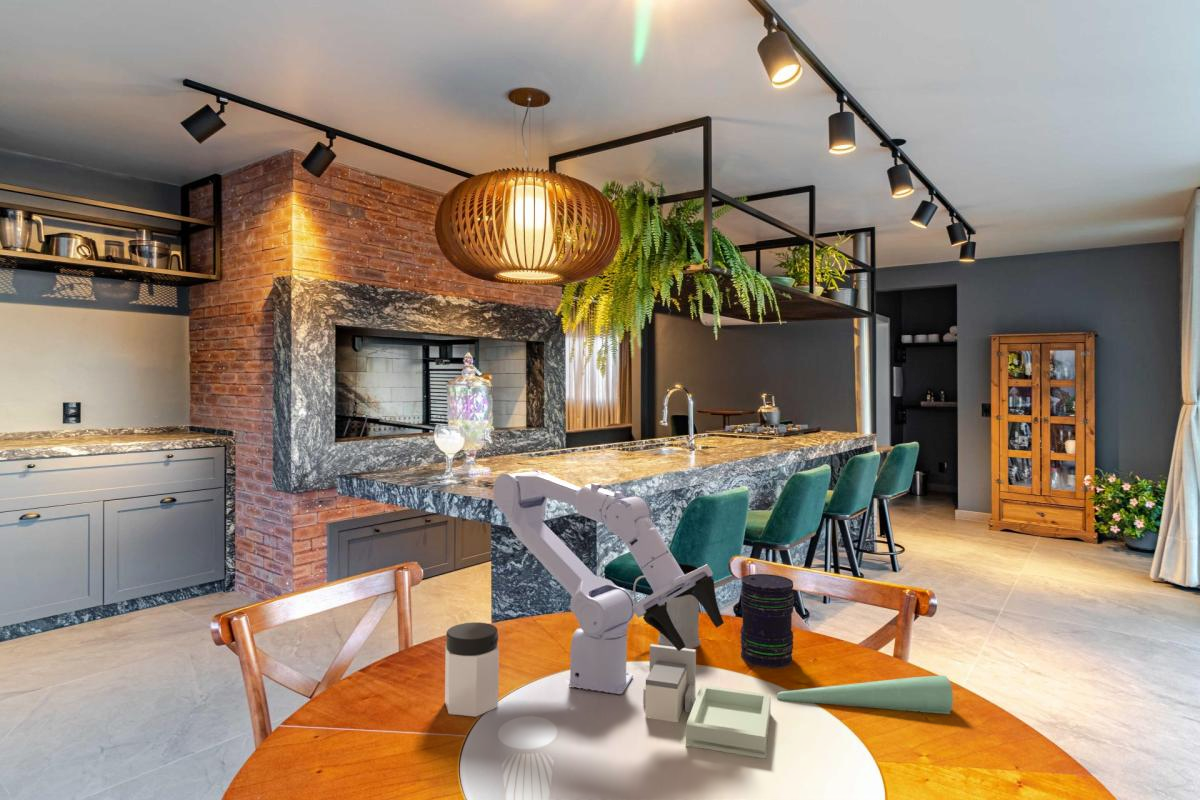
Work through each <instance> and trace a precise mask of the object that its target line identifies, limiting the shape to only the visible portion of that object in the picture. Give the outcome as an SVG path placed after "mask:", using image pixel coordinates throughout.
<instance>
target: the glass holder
mask: <svg viewBox="0 0 1200 800" xmlns="http://www.w3.org/2000/svg"><path fill="white" fill-rule="evenodd" d="M678 565H679V567H680V568H681V570H682V571H683V573H684V575H686V574H688V573H690V572H692V571H694V570H696V569H698V568H699V567H697V566H695V565H691V564H685V563H678ZM641 579H646V578H645V576H644V575H640V576H638V577H637V578H635V581H634V583H633V588H632V591H633V592H632V594H633V596H632V597H633V599H634V602H635V604H636V603H638V600H637V595H636V585H637V583H638V582H639V581H640V580H641ZM688 585H689V584H688ZM688 585H687V586H688ZM685 587H686V586H685ZM683 588H684V587H683ZM680 589H682V587H680V588H678V589H677V590H675V591H673V592H672V593H670V594H668V595H666V596H665V597H664V598H663V599H665V598H666V597H668V596H670V595H672V594H673V593H675V592H677V591H679V590H680ZM693 591H694V586H693V587H691V588H689V589H688V590H686V591H684V592H682V593H681V594H679V595H677V596H675V597H674V598H672V599H670V600H668V601H666V602H665V603H663V604H661V605H665V607H666V610H667V612H668V614H669V617H670V619H671V621H672V623H673V625H674V627H675V629H676V630H677V632H678V633H679V635H680V637H681V638H682V640H683V642H684V644H685V646H686V647H684V648H687V649H695V648H697V647H699V646H700V645H701V643H702V642H701V639H700V636H699V623H700V622H699V620H700V619H699V618H700V617H699V614H700V613H699V610H700V609H699V607H700V604H699V603H700V602H699V601H698V600H697V599H696V598H695V597H694V595H693V594H692V592H693ZM653 593H654V591H653V590H652V594H653ZM663 599H662V600H663ZM660 601H661V600H660ZM661 605H659V606H661ZM642 617H644V615H643V616H642ZM658 634H659V635H658V638H657V642H658V645H663V646H671V647H675V646H674V645H673V644H672V643H671V642H670V641H669V640H668V639H667V638H666V637H665V636H664V635H663V634H662V633H660V632H659V631H658Z"/></svg>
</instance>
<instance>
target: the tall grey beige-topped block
mask: <svg viewBox="0 0 1200 800" xmlns="http://www.w3.org/2000/svg"><path fill="white" fill-rule="evenodd" d="M686 673H687V664H680V663H672V662H664V661H656V663H655V665H654V666H653V668H652V670H651V671H650V670H649V673H648V675H647V677H646V678H645V686H646V700H645V705H644V706H645V707H644V709H645V711H644V712H645V715H644V716H645V718H646V717H650V718H649V719H653V718H655V719H654V720H659V719H660V721H665V720H666V721H665V722H672V723H678V721H679V719H680V716H681V713H682V711H683V709H684V707H685V694H686ZM683 706H684V707H683Z"/></svg>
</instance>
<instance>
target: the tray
mask: <svg viewBox="0 0 1200 800" xmlns="http://www.w3.org/2000/svg"><path fill="white" fill-rule="evenodd" d="M771 697H772V696H771V694H768V693H761V692H755V691H748V690H747V691H746V690H739V689H733V688H732V689H731V688H725V687H717V686H710V685H703V684H701V685H700V687H699V690H698V692H697V694H696V696H695V700H694V703H693V705H692V708H691V710H690V712H689V715H688V719H687V722H686V723H685V746H687V747H694V748H699V749H705V750H712V751H717V752H724V753H730V754H736V755H740V756H747V757H754V758H758V759H764V760H765V759H766V754H767V753H766V751H767V744H768V743H767V742H768V737H769V736H768V735H769V727H770V720H771Z"/></svg>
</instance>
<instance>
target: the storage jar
mask: <svg viewBox="0 0 1200 800" xmlns="http://www.w3.org/2000/svg"><path fill="white" fill-rule="evenodd" d="M793 588H794V581H793V580H792V579H790V578H788V577H785V576H782V575H777V574H776V575H775V574H768V573H754V574H753V573H752V574H747V575H745V576H742V578H741V591H740V597H741V600H740V601H741V602H740V605H741V606H740V607H741V609H742V626H740V642H739V643H740V649H741V652H740V657H741V659H742V660H743V661H744V662H745V663H747V664H750V665H751V666H754V667H755V666H756V667H758V668H759V667H760V668H765V669H780V668H781V669H783V668H786V667H789V666H790V665H791V664H792V663H793V657H792V656H793V655H792V654H793V649H794V641H793V640H794V631H793V630H792V627H793V626H792V623H793V622H792V618H793V617H792V615H793V612H794V609H795V608H794V602H795V599H794V597H795V596H794V589H793Z"/></svg>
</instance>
